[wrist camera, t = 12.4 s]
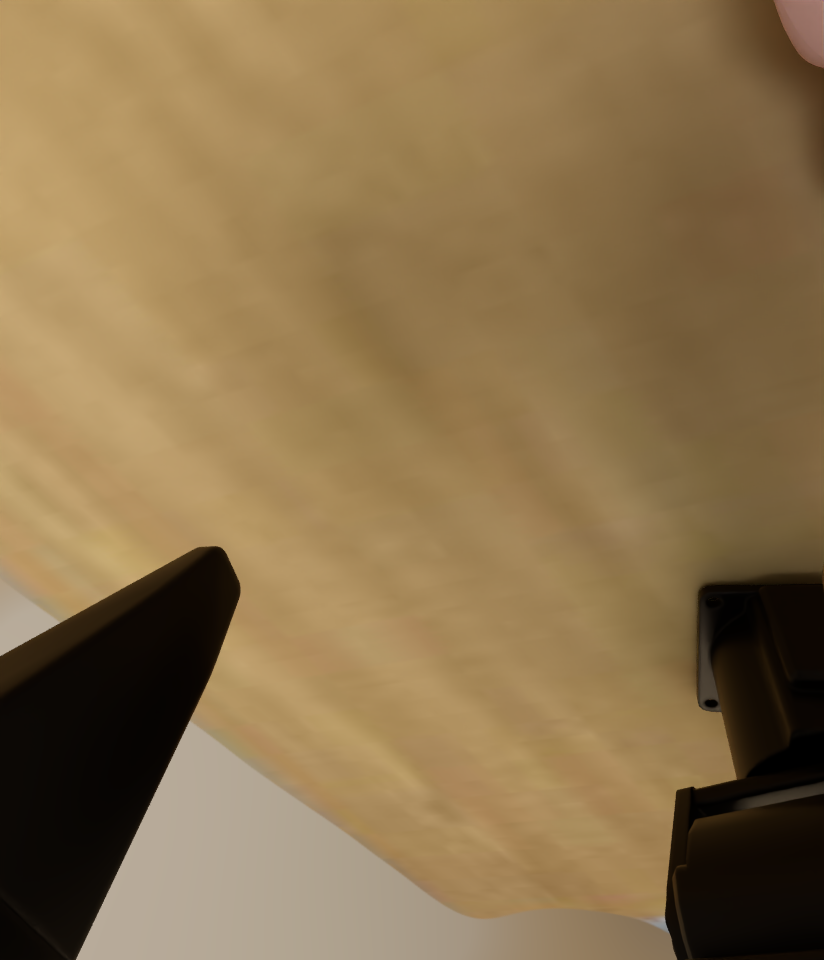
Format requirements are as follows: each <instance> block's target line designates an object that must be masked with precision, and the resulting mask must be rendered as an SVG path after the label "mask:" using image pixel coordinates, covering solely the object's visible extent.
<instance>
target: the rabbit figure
mask: <svg viewBox="0 0 824 960" xmlns="http://www.w3.org/2000/svg"><path fill="white" fill-rule="evenodd" d="M774 3H775V6H776V8H777V11H778V14H779V17H780V19H781V22H782V25H783V27H784V29H785V31H786V33H787V35H788V37H789V39H790V41H791V42H792V44H793V46H794V47H795V49H796V50H797V52H798V53H799V54H800V55H801V57H802V58H803V59H805V60H806V61H807V62H809V63H811V64H813V65H815V66H818V67H822V68H824V0H774Z"/></svg>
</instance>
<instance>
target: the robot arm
mask: <svg viewBox="0 0 824 960" xmlns="http://www.w3.org/2000/svg"><path fill="white" fill-rule="evenodd" d="M822 581H823V584H778V585H711V586H706V587H704V588H702V589H701V590H700V591H699V593H698V615H697V699H698V704H699V706H700V707H701V708H702V709H703V710H706V711H711V712H722V716H723V720H724V724H725V729H726V733H727V738H728V742H729V746H730V751H731V755H732V760H733V764H734V768H735V773H736V777H737V780H733V781H729V782H724V783H720V784H716V785H711V786H707V787H702V788H698V789H695V788H694V787H689V788H684V789H680V790H677V792H676V801H675V811H674V821H673V831H672V840H671V850H670V860H669V870H668V880H667V896H666V909H665V920H666V925H667V928H668V931H669V933H670V935H671V938H672V944H673V949H674V952H675V955H676V957H677V960H824V566H823V574H822ZM239 597H240V583H239V580H238V578H237V576H236V574H235V572H234V569H233V567H232V565H231V563H230V561H229V558H228V556H227V554H226V552H225V551H224V550H223V549H222V548H220V547H218V546H211V547H198V548H196V549H194V550H192V551H190V552H188V553H186V554H185V555H183V556H181V557H179V558H177V559H175V560H174V561H172V562H170V563H168V564H166V565H165V566H163V567H161V568H159V569H157V570H156V571H154V572H152V573H150V574H148V575H147V576H145V577H143V578H141V579H139V580H137V581H136V582H134V583H132V584H130V585H128V586H127V587H125V588H123V589H121V590H119V591H118V592H116V593H114V594H112V595H110V596H108V597H107V598H105V599H103V600H101V601H99V602H98V603H96V604H94V605H92V606H90V607H89V608H87V609H85V610H83V611H81V612H80V613H78V614H76V615H74V616H72V617H70V618H69V619H67V620H65V621H63V622H61V623H60V624H58V625H56V626H54V627H52V628H51V629H49V630H47V631H46V632H43V633H42V634H40V635H38V636H36V637H34V638H32V639H31V640H29V641H27V642H25V643H24V644H22V645H20V646H18V647H16V648H14V649H13V650H11V651H9V652H7V653H5V654H4V655H2V656H0V960H76V958H77V956H78V954H79V952H80V950H81V948H82V946H83V943H84V941H85V939H86V937H87V935H88V933H89V931H90V929H91V926H92V924H93V922H94V920H95V918H96V916H97V914H98V912H99V910H100V908H101V906H102V904H103V901H104V899H105V897H106V895H107V893H108V891H109V889H110V887H111V884H112V882H113V880H114V878H115V876H116V874H117V872H118V870H119V868H120V866H121V864H122V861H123V859H124V857H125V855H126V853H127V851H128V849H129V847H130V845H131V843H132V840H133V838H134V836H135V834H136V832H137V830H138V828H139V826H140V824H141V822H142V819H143V817H144V815H145V813H146V811H147V809H148V807H149V805H150V803H151V801H152V798H153V796H154V794H155V792H156V790H157V788H158V786H159V784H160V782H161V779H162V777H163V775H164V773H165V771H166V769H167V767H168V765H169V763H170V761H171V759H172V756H173V754H174V752H175V750H176V748H177V746H178V744H179V742H180V739H181V738H182V735H183V733H184V731H185V729H186V727H187V725H188V723H189V721H190V719H191V717H192V714H193V712H194V710H195V708H196V706H197V704H198V702H199V700H200V698H201V696H202V693H203V691H204V689H205V687H206V685H207V683H208V680H209V678H210V676H211V674H212V671H213V669H214V666H215V663H216V661H217V658H218V655H219V653H220V650H221V647H222V644H223V642H224V639H225V636H226V633H227V631H228V628H229V625H230V622H231V619H232V617H233V614H234V611H235V608H236V606H237V603H238V600H239ZM714 597H715V598H718V599H717V600H714V601H711V600H709V599H710V598H714ZM709 699H712V700H709Z"/></svg>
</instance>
